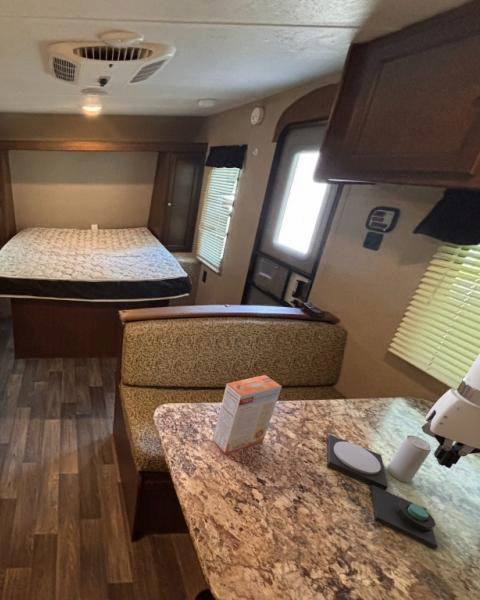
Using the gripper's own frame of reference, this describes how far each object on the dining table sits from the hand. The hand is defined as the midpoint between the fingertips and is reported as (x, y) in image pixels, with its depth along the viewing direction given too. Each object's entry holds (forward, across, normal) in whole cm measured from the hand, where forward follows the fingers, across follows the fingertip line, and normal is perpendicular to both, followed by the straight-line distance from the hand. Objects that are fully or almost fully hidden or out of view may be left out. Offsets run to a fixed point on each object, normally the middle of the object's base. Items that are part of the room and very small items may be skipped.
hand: (442, 461), depth 70 cm
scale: (+16, +10, -8) cm, 21 cm away
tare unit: (+16, +2, +4) cm, 17 cm away
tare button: (+14, 0, +4) cm, 14 cm away
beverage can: (+16, 0, -11) cm, 20 cm away
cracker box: (+16, +38, +3) cm, 42 cm away
